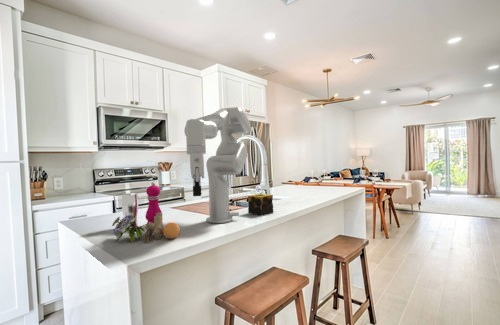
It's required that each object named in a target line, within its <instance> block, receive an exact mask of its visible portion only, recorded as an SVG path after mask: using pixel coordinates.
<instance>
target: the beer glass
mask: <svg viewBox="0 0 500 325" xmlns="http://www.w3.org/2000/svg"><path fill="white" fill-rule="evenodd" d="M120 204H121V211H122V214H123V218H125V217H126V216H128V215H131V214H132V213H133V212H134V216H133V218H135V227H138V225H139V224H138V211H139V204H140V203H139V193H137V192H129V193H123V194H121V203H120ZM133 218H132V219H133ZM132 227H133V226H131V227H130V228H132Z"/></svg>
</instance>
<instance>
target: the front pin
mask: <svg viewBox="0 0 500 325" xmlns="http://www.w3.org/2000/svg"><path fill="white" fill-rule="evenodd" d="M164 227H165V226H163V227H161V234H162V235H164V233H163V229H164ZM147 228H149V229H151V230H154V223H151V222H149V223H148V225H147Z"/></svg>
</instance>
